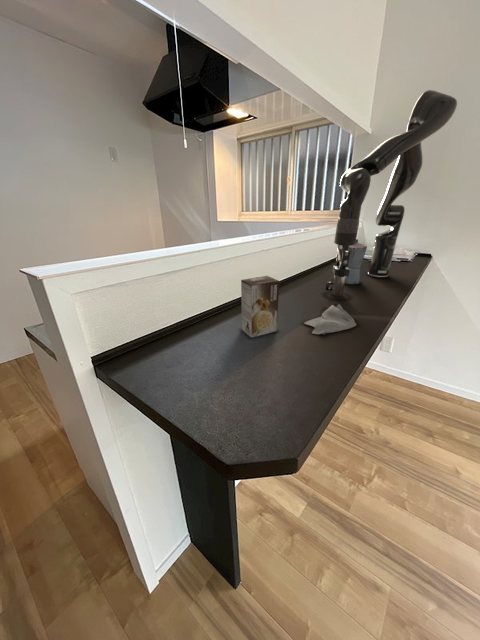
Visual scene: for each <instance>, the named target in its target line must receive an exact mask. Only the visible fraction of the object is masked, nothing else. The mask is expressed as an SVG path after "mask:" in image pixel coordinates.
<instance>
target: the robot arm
mask: <svg viewBox="0 0 480 640" xmlns="http://www.w3.org/2000/svg"><path fill="white" fill-rule="evenodd" d="M457 106H458V100H457V99H456V98H455V97H454V96H452V95H449V94H446V93H444V92H441V91H438V90H437V91H436V90H433V89H428V90H425V91H424V92H423V93H422V94H420V96H419V97H418V99H417V100H416V102H415V104H414V105H413V108H412V110H411V113H410V116H409V120H408V123H407V127H406V130H405V132H403V133H399V134H396V135H394V136H391V137H390V138H388V139H386V140H385V141H383V142H381V144H379V145H378V146H377V147H376V148H375V149H374V150H372V151H371V152H370V153H369V154H368V155H366V157H364V158H363V159H361V160H359V161H358V162H356V163H355V164H354V165H352V166H351V167H350V168H348V169H347V170H346V171H345V172H344V173H343V174H342V176H341V178H340V182H339V184H340V185H339V187H340V188H341V190H343V192H346V193H348V194H347V197H346V199H344V200H343V201H341V204H340V207H339V208H340V209H339V213H338V219H337V222H336V229H335V235H334V244H335V245H337V249H336V254H335V261H336V263H335V266H340V268H339V274H338V276H339V277H344V276H345V271H346V267H348V264H349V258H350V253H351V250H349V246H350V245H355V243H356V239H358V238H357V237H358V232H359V226H360V217H361V213H362V212H361V211H362V206H363V204H364V202H365V199H366V196H367V194H368V192H369V189H370V186H371V182H372V178H371V177H373V176H376V175H379V174H380V173H382V171H384V170H386V168H387V167H388V166H390V165H391V164H392V163H393V162H394V161H396V162H395V166H394V167H393V170H392V173H391V176H390V179H389V183H388V185H387V188H386V191H385V194H384V196H383V199H382V200H381V203H380V205H379V207H378V210H377V213H376V215H375V224H376V225H377V226H379V227H390V228H389V229H387V230H385V231H384V232H380V233H377V234H376V235H375V237H374V244H373V248H372V253H371V257H370V259H368V262H369V266H368V271H367V276H369V277H372V278H375V279H376V278H377V279H386V278H388V277H389V272H390V269H391V264H392V260H393V256H394V252H395V248H396V245H397V240H398V237H399V233H400V229H401V226H402V223H403V219H404V216H405V212H406V211H405V206H404V205H402V204H393V203H395V201H396V200H397V199H398V198H399V197H400V196H402V195H403V194H404V193H406V192H407V191H408V190H409V189H410V188H412V187H413V185H414V184H415V183H416V181H417V179H418V177H419V175H420V172H421V170H422V168H423V160H424V159H423V158H424V157H423V150H422V149H423V148H422V142H423V141H425V140H426V139H428V138H430V137H431V136H432V135H434V134H435V133H437V132H438V131H440V130H441V129H442V128H443V127H444V126H446V124H447V123H448V122H449V121H450V120H451V118H452V117H453V116H454V114H455V112H456V110H457ZM344 262H345V263H344Z"/></svg>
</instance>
